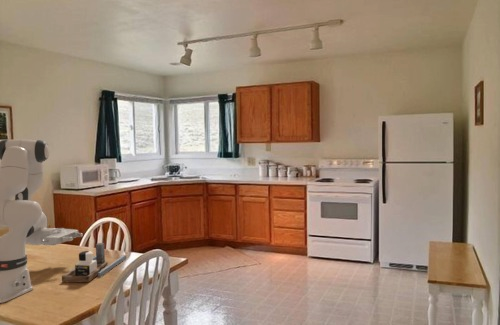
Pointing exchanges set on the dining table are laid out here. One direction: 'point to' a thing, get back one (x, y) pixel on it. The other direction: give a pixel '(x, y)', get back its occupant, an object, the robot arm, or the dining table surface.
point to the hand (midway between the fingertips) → (77, 237)
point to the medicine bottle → (85, 264)
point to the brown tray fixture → (100, 264)
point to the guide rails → (109, 265)
